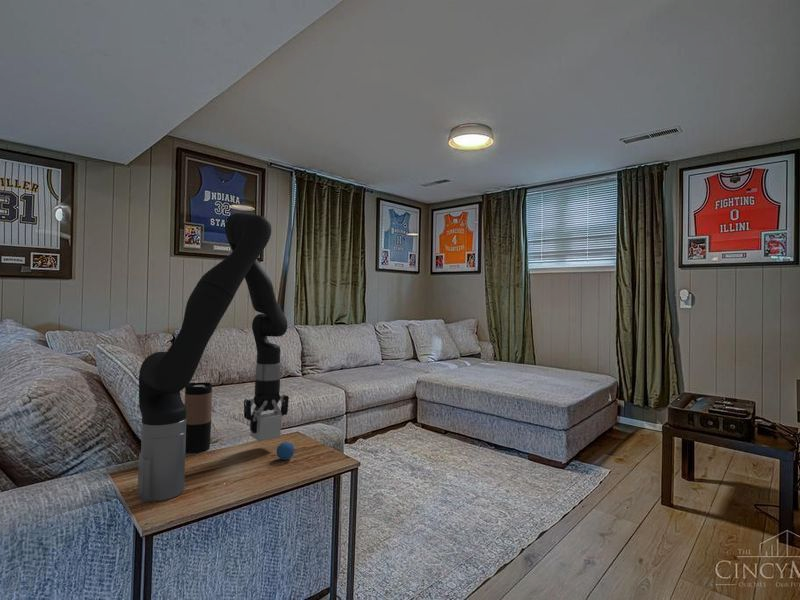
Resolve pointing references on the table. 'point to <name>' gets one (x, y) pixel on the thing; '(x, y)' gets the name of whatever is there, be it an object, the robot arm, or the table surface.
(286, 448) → the ball
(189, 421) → the travel mug
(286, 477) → the table surface
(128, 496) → the table surface
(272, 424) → the matte gray cube
